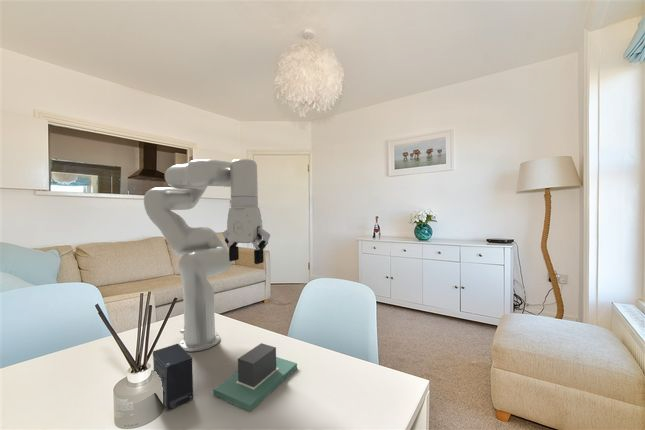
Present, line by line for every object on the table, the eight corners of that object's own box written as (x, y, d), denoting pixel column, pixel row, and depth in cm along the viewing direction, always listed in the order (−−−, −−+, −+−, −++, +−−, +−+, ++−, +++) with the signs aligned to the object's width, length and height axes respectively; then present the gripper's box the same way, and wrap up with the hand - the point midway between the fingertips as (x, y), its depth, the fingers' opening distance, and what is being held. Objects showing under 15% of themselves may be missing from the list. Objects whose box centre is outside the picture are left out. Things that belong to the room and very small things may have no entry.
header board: (213, 395, 70) (213, 388, 70) (264, 357, 87) (264, 352, 87) (250, 411, 65) (249, 404, 64) (297, 368, 81) (296, 362, 81)
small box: (195, 398, 69) (194, 356, 69) (166, 412, 65) (164, 367, 64) (180, 380, 77) (178, 341, 76) (152, 391, 72) (151, 351, 72)
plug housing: (238, 381, 73) (237, 358, 73) (261, 363, 81) (261, 343, 81) (253, 387, 70) (253, 363, 70) (276, 368, 78) (275, 347, 78)
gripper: (213, 203, 83) (215, 261, 84) (258, 202, 75) (260, 267, 75) (232, 203, 89) (234, 257, 90) (276, 202, 81) (278, 262, 82)
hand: (246, 261), depth 83 cm, fingers open, 9 cm apart
